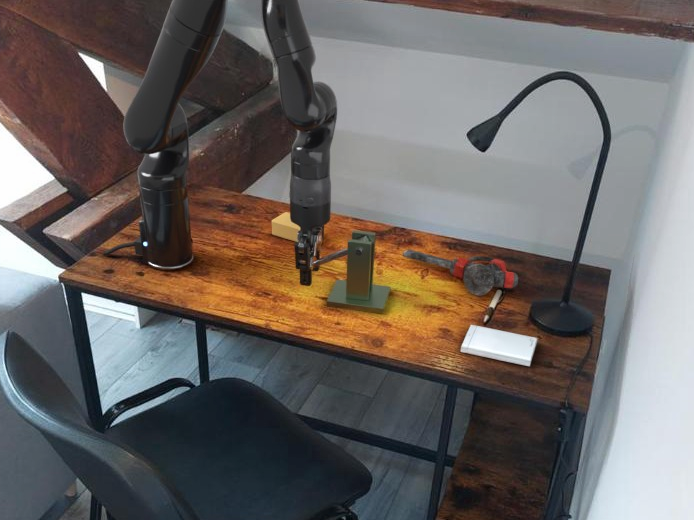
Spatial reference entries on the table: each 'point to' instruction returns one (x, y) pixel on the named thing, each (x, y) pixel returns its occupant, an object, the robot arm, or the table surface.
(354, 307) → the bracket
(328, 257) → the lever
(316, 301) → the table surface
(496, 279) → the valve
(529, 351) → the hard drive
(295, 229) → the rubber stamp
